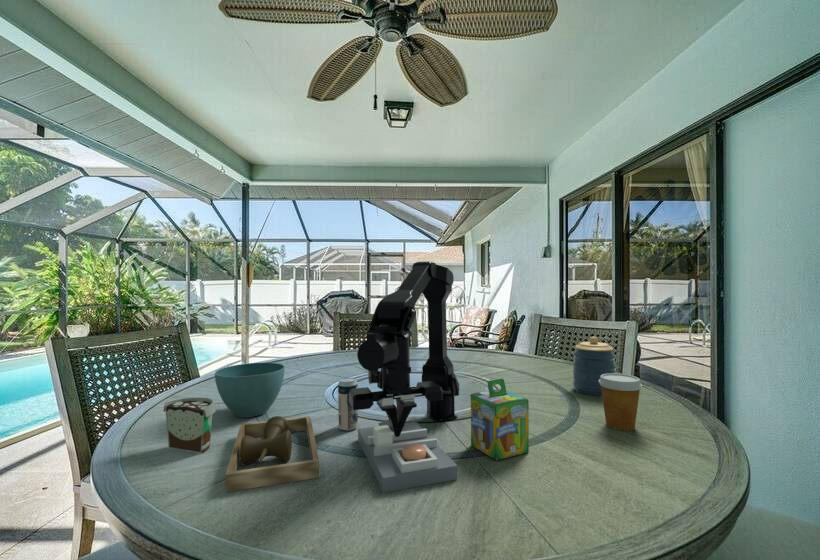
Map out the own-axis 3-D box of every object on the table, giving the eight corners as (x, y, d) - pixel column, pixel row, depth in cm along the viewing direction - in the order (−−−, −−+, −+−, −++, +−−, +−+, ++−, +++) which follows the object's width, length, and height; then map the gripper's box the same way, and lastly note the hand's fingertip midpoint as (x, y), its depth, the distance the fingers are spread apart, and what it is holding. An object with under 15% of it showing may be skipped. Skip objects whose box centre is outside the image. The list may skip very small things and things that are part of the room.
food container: (228, 443, 90) (228, 399, 90) (206, 454, 84) (206, 407, 84) (187, 436, 94) (187, 394, 94) (163, 447, 88) (163, 402, 88)
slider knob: (387, 441, 83) (387, 424, 83) (392, 449, 79) (392, 431, 79) (373, 443, 82) (373, 426, 82) (377, 451, 78) (377, 433, 78)
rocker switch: (399, 420, 92) (398, 416, 92) (404, 426, 88) (403, 421, 88) (379, 427, 91) (378, 423, 91) (383, 433, 87) (382, 429, 87)
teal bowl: (199, 419, 106) (199, 373, 106) (250, 399, 123) (249, 360, 123) (252, 427, 99) (251, 379, 99) (298, 406, 116) (297, 364, 116)
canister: (565, 386, 135) (564, 334, 135) (601, 384, 136) (600, 333, 136) (586, 397, 122) (585, 340, 122) (625, 395, 123) (625, 339, 123)
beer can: (354, 432, 96) (353, 382, 96) (335, 431, 97) (335, 381, 97) (360, 425, 100) (360, 377, 100) (342, 424, 101) (342, 377, 101)
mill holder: (310, 428, 99) (310, 416, 99) (319, 477, 74) (319, 461, 74) (240, 436, 94) (240, 423, 94) (225, 492, 69) (225, 475, 69)
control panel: (415, 432, 96) (415, 415, 96) (457, 479, 73) (457, 457, 73) (358, 439, 91) (358, 422, 91) (383, 492, 68) (383, 469, 68)
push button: (421, 453, 77) (421, 442, 77) (429, 462, 73) (429, 452, 73) (399, 456, 76) (399, 445, 76) (406, 466, 72) (406, 455, 72)
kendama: (298, 436, 95) (287, 473, 76) (256, 440, 94) (233, 480, 74) (297, 411, 95) (286, 441, 76) (255, 415, 94) (232, 447, 74)
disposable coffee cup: (646, 425, 98) (646, 376, 98) (636, 436, 91) (636, 384, 91) (605, 416, 105) (605, 371, 105) (593, 426, 98) (592, 377, 98)
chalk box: (496, 462, 79) (495, 388, 79) (469, 445, 87) (468, 378, 87) (531, 452, 84) (530, 382, 84) (502, 437, 92) (501, 373, 92)
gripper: (425, 350, 92) (425, 418, 92) (344, 356, 86) (345, 428, 87) (443, 360, 82) (444, 435, 82) (353, 367, 76) (354, 448, 76)
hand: (396, 436), depth 82 cm, fingers closed
